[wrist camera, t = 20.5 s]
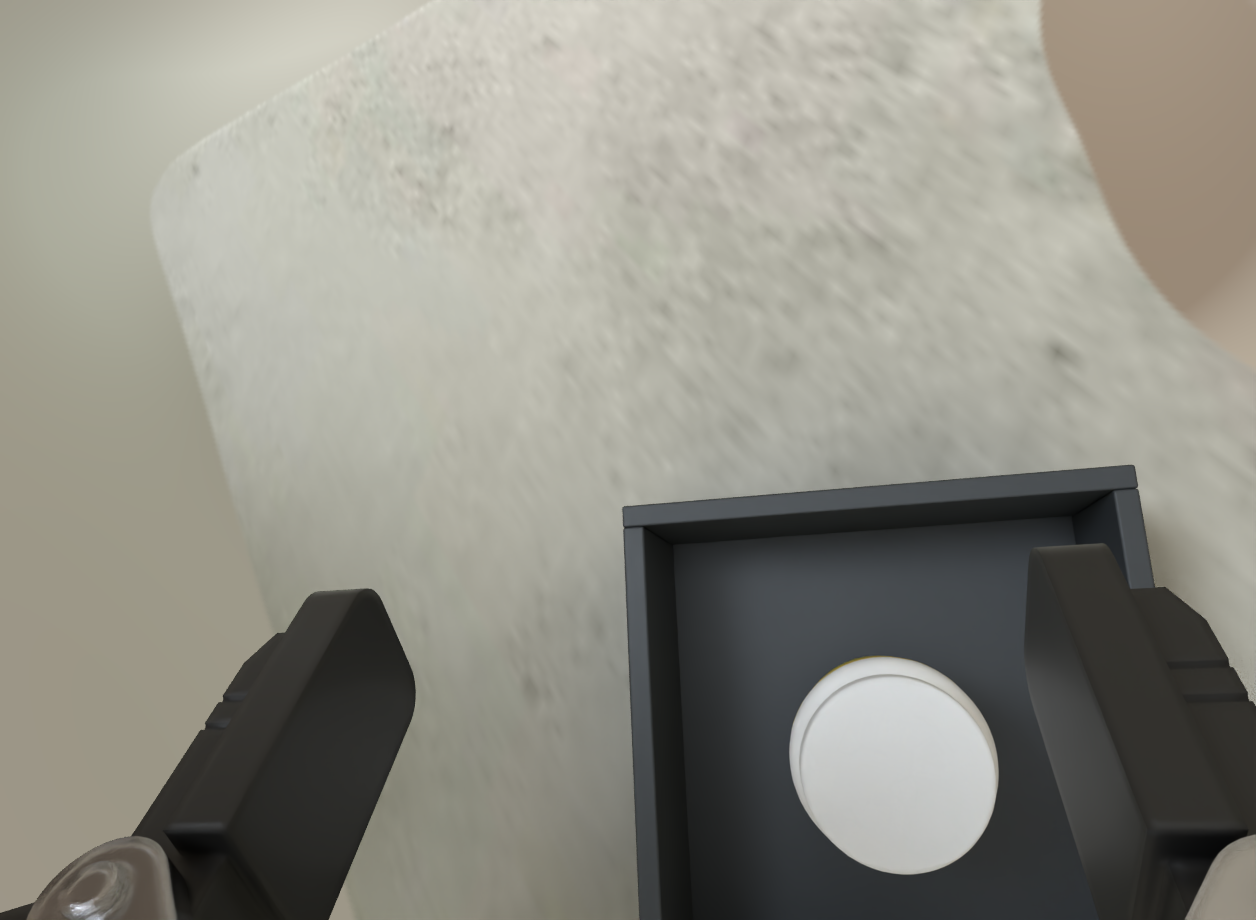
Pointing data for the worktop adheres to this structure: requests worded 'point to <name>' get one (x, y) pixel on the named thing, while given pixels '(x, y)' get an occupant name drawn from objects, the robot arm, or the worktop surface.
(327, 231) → the worktop surface
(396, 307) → the worktop surface
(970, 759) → the supplement bottle
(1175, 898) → the robot arm
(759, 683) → the bin
